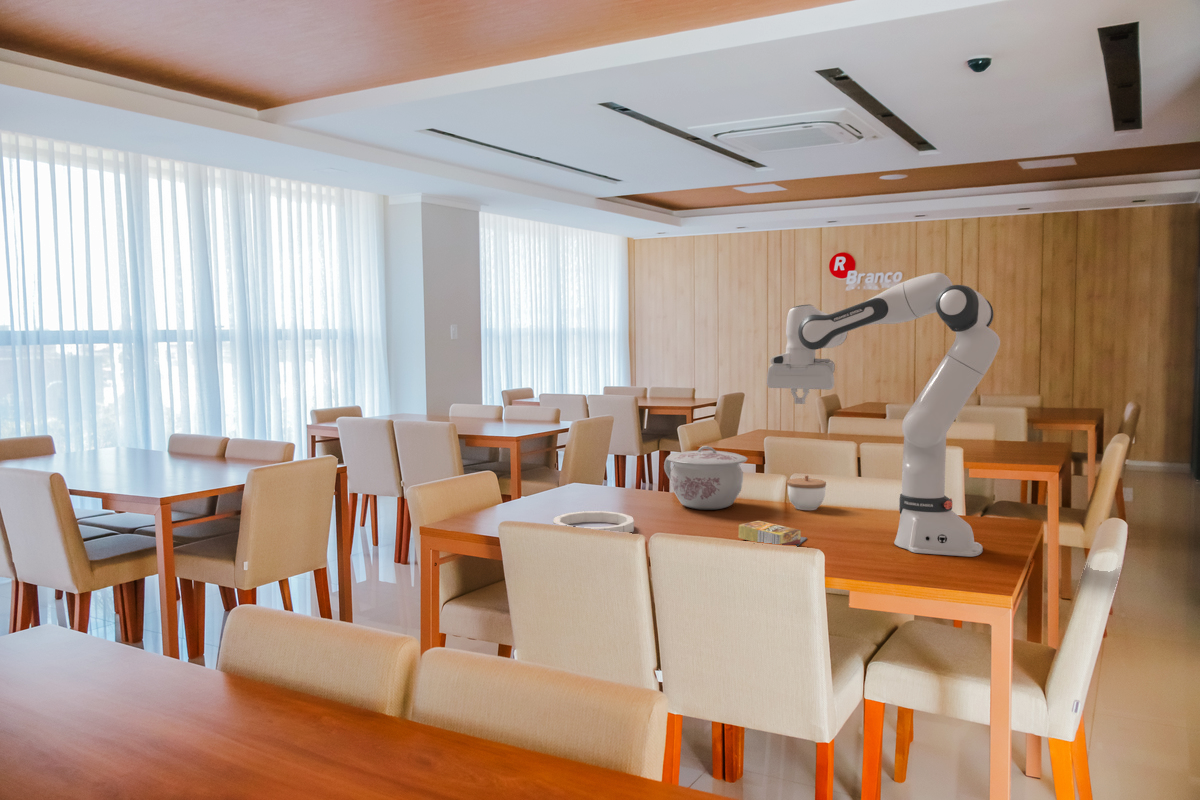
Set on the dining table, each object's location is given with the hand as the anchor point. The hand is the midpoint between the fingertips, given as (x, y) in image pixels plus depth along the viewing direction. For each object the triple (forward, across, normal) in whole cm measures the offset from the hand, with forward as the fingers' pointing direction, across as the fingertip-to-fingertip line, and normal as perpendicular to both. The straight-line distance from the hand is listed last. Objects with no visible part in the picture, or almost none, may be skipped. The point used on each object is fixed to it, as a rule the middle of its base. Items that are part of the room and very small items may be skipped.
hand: (799, 403), depth 264 cm
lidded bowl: (+37, +4, -23) cm, 44 cm away
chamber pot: (+37, +35, -11) cm, 52 cm away
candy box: (+35, +7, +25) cm, 44 cm away
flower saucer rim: (+37, +52, +37) cm, 74 cm away
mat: (+37, -1, +25) cm, 45 cm away
